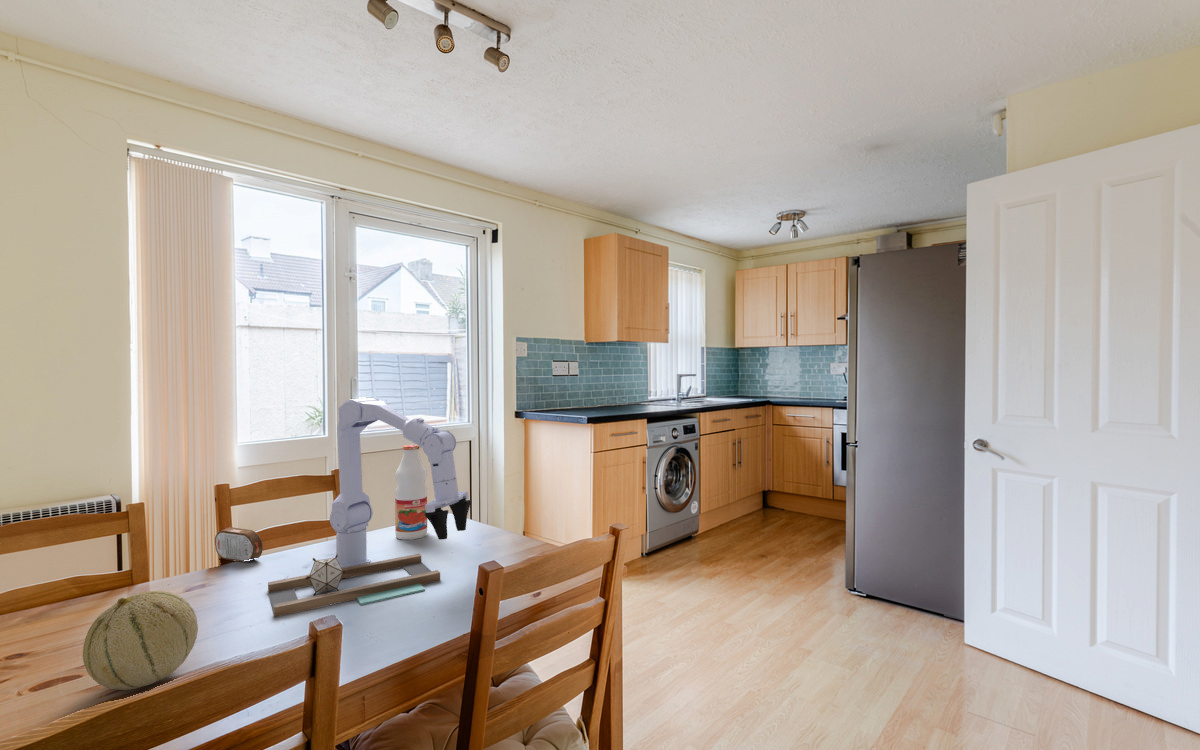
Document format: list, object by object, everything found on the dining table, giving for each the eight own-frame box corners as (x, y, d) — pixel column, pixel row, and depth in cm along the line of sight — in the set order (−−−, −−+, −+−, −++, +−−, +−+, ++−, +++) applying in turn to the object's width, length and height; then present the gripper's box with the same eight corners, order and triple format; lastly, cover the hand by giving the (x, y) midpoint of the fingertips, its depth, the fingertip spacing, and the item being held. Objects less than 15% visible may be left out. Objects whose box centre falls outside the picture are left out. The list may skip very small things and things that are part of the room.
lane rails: (268, 590, 131) (268, 582, 131) (419, 561, 150) (419, 553, 150) (274, 617, 117) (274, 607, 117) (440, 580, 136) (440, 572, 136)
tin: (263, 561, 151) (263, 530, 151) (253, 565, 148) (253, 533, 148) (223, 555, 156) (223, 525, 156) (212, 559, 153) (212, 528, 153)
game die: (330, 610, 129) (332, 584, 123) (296, 596, 129) (296, 570, 123) (353, 578, 136) (355, 553, 131) (320, 566, 136) (321, 540, 131)
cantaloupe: (219, 665, 98) (218, 580, 97) (128, 716, 83) (127, 616, 83) (155, 654, 101) (154, 572, 101) (58, 700, 87) (57, 605, 87)
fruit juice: (423, 529, 180) (422, 442, 180) (430, 537, 172) (430, 446, 172) (392, 534, 175) (391, 444, 175) (398, 542, 167) (398, 448, 167)
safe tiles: (339, 571, 143) (339, 569, 143) (396, 560, 151) (396, 559, 151) (360, 605, 122) (360, 603, 122) (424, 590, 130) (424, 588, 130)
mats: (268, 593, 129) (268, 592, 129) (421, 563, 149) (421, 562, 149) (273, 613, 118) (273, 612, 118) (437, 578, 138) (437, 576, 138)
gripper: (439, 484, 131) (447, 542, 131) (474, 473, 145) (482, 525, 144) (415, 487, 134) (423, 543, 133) (452, 475, 147) (459, 527, 147)
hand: (452, 534), depth 139 cm, fingers open, 7 cm apart
